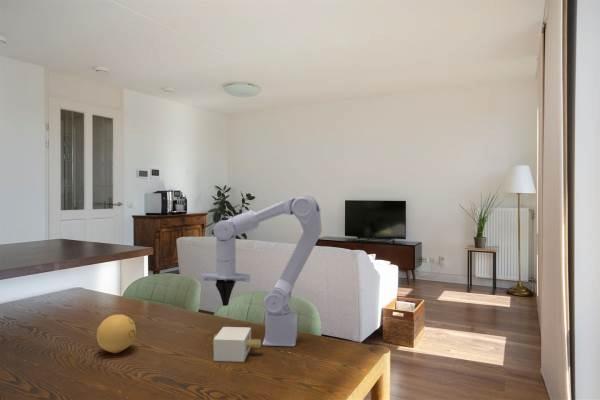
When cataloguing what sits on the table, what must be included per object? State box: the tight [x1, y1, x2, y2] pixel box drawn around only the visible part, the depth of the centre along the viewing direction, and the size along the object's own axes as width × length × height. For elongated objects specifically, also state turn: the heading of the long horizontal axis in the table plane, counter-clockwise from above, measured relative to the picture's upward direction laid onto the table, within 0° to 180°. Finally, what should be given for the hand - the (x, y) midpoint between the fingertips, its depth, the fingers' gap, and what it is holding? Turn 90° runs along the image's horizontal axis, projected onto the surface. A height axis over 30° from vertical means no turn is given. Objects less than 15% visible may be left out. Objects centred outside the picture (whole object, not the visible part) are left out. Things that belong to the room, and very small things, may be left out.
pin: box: [211, 334, 262, 351], centre depth 110 cm, size 13×4×4 cm, turn 87°
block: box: [213, 326, 252, 363], centre depth 110 cm, size 8×10×6 cm
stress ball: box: [96, 313, 137, 354], centre depth 111 cm, size 10×10×10 cm
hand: (225, 304), depth 123 cm, fingers closed
